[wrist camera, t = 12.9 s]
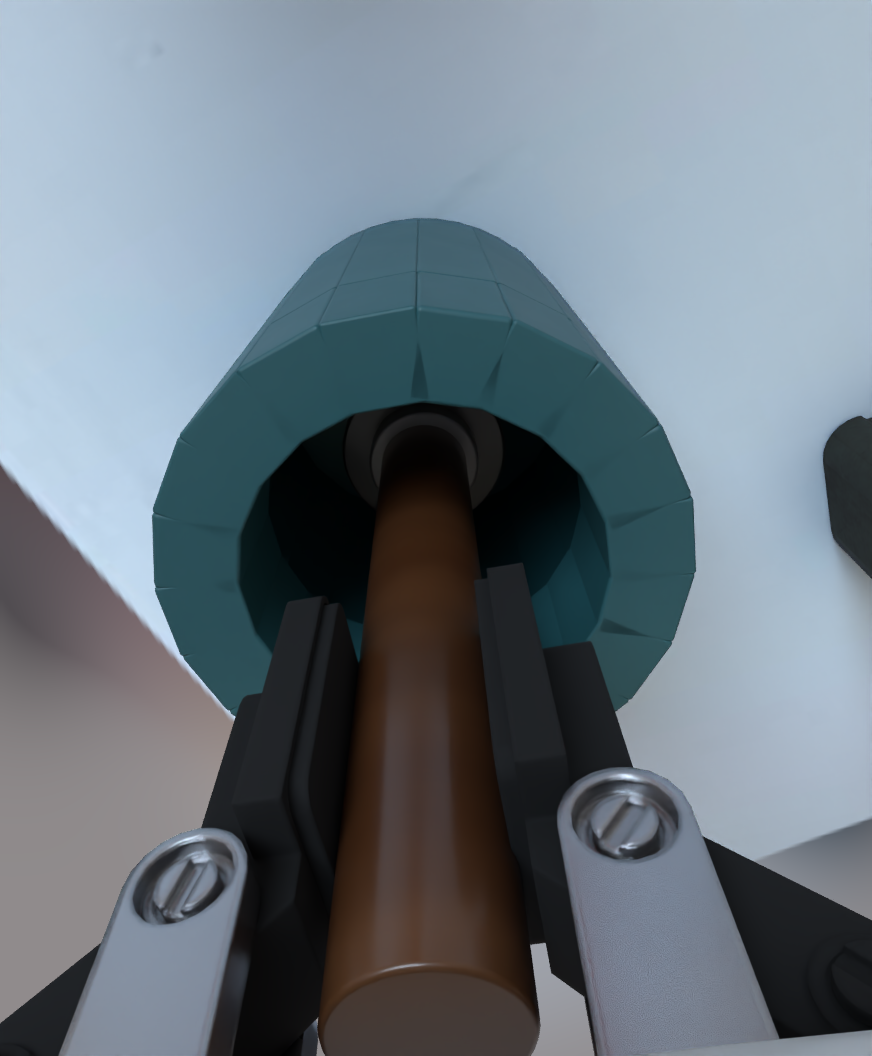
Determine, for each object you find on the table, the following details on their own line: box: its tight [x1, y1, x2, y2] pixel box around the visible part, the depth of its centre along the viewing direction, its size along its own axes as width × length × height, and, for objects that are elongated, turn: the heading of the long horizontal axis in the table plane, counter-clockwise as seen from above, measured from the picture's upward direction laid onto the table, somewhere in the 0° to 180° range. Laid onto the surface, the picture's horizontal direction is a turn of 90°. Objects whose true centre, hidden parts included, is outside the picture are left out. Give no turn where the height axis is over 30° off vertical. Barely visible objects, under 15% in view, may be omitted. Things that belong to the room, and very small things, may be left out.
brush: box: [317, 402, 540, 1056], centre depth 16 cm, size 4×4×19 cm
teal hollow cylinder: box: [152, 218, 696, 716], centre depth 19 cm, size 9×9×12 cm
